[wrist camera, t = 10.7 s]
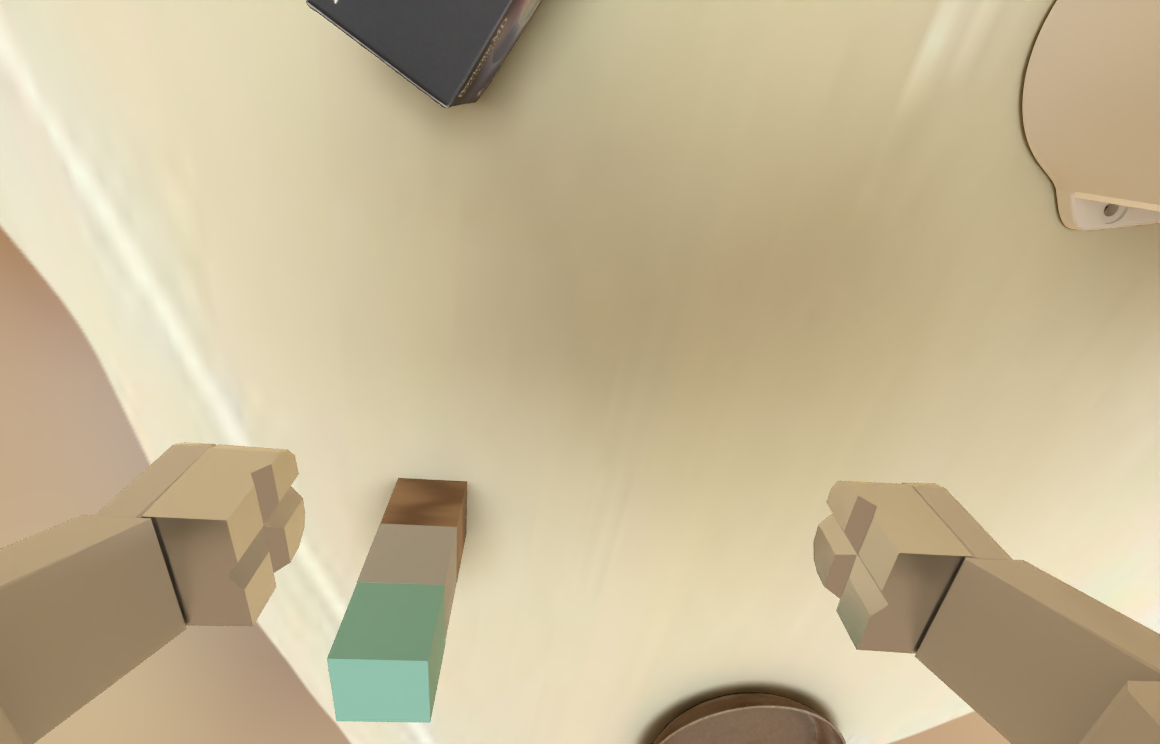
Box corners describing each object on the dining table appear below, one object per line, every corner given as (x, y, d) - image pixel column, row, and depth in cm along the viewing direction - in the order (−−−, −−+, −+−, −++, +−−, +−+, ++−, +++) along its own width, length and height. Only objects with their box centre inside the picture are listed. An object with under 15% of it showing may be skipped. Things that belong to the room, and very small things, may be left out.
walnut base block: (466, 481, 43) (456, 527, 38) (466, 533, 45) (456, 582, 40) (398, 478, 42) (380, 523, 38) (401, 530, 44) (384, 579, 40)
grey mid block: (456, 527, 38) (444, 585, 34) (456, 582, 40) (444, 643, 36) (380, 523, 38) (357, 581, 33) (384, 579, 40) (362, 640, 35)
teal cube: (444, 585, 34) (428, 661, 29) (445, 643, 36) (430, 722, 31) (357, 582, 33) (327, 658, 29) (363, 641, 35) (336, 721, 31)
